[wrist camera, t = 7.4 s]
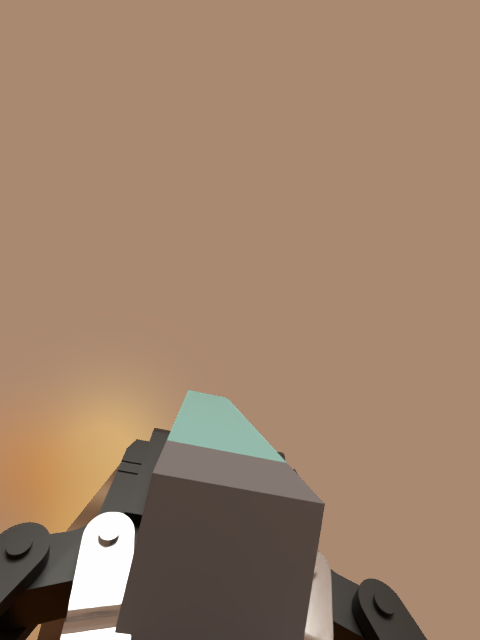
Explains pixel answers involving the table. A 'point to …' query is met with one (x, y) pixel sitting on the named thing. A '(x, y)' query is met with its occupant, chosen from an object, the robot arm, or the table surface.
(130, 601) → the teal bar
